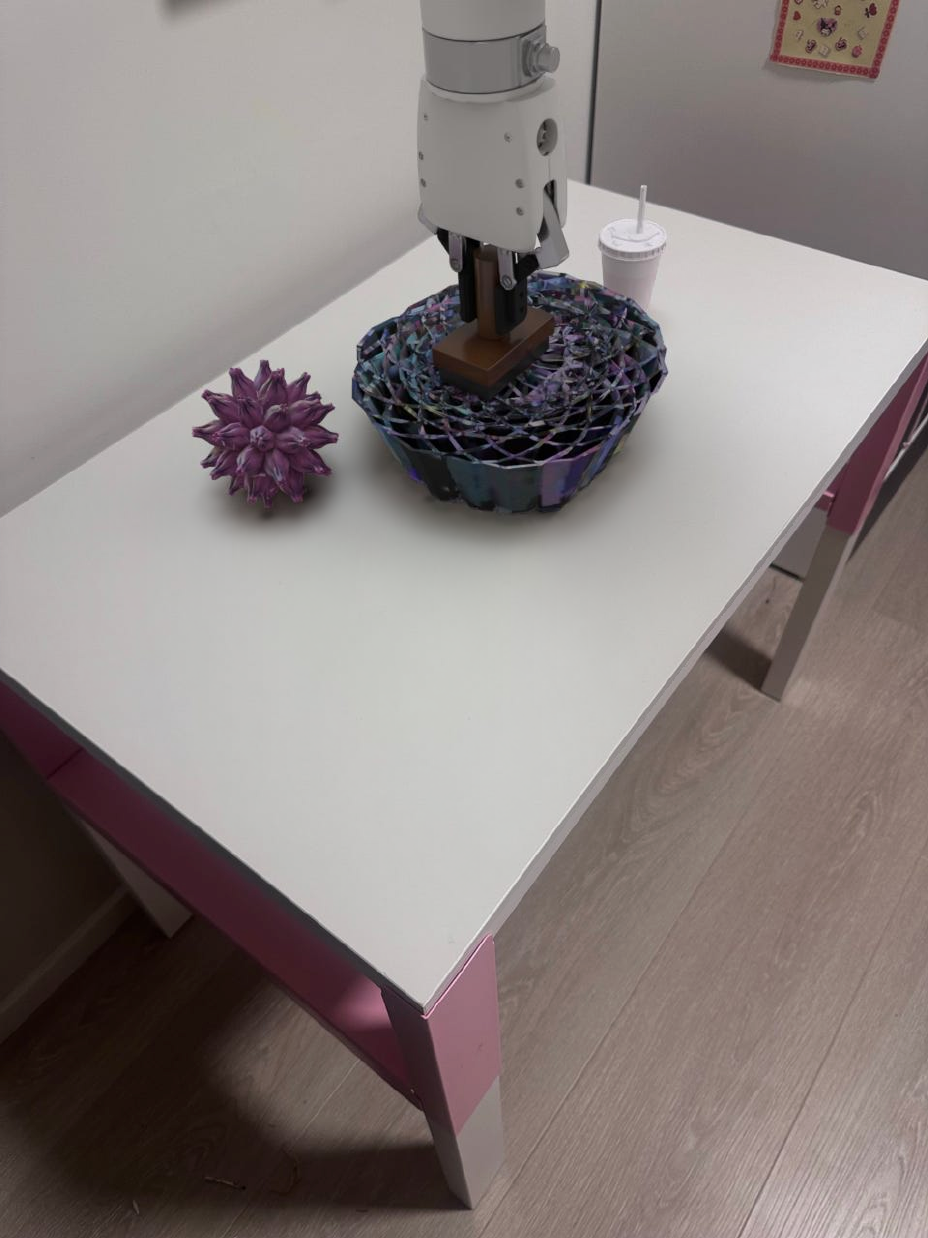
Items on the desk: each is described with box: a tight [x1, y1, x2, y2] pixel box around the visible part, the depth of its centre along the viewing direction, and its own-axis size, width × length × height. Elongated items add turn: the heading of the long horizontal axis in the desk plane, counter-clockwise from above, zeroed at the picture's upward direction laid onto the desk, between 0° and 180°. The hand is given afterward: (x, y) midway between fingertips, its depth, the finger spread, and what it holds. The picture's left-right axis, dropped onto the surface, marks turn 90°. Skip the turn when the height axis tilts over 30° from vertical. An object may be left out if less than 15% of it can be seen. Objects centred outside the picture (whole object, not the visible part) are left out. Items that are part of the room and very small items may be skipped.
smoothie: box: [597, 184, 668, 315], centre depth 83 cm, size 6×6×14 cm
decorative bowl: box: [351, 269, 669, 516], centre depth 76 cm, size 26×28×10 cm
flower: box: [191, 359, 340, 509], centre depth 72 cm, size 12×12×12 cm
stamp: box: [432, 243, 554, 401], centre depth 68 cm, size 9×6×10 cm, turn 142°
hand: (493, 318), depth 69 cm, fingers closed on stamp, 2 cm apart
